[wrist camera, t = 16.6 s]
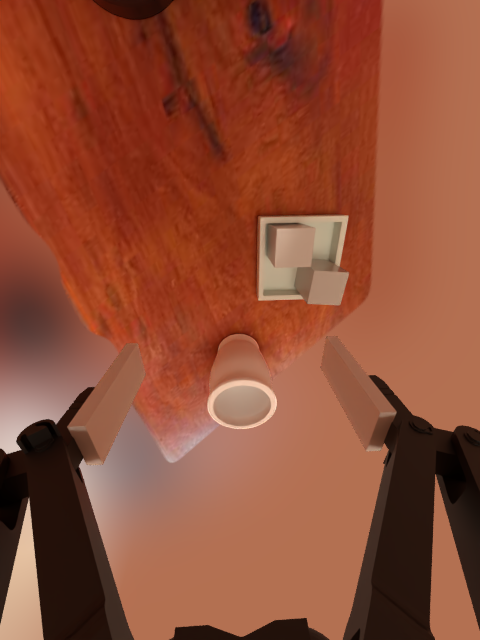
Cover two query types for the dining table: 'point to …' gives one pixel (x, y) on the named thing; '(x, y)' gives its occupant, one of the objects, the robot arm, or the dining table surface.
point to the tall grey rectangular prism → (290, 244)
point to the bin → (282, 280)
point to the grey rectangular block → (321, 282)
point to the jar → (240, 384)
